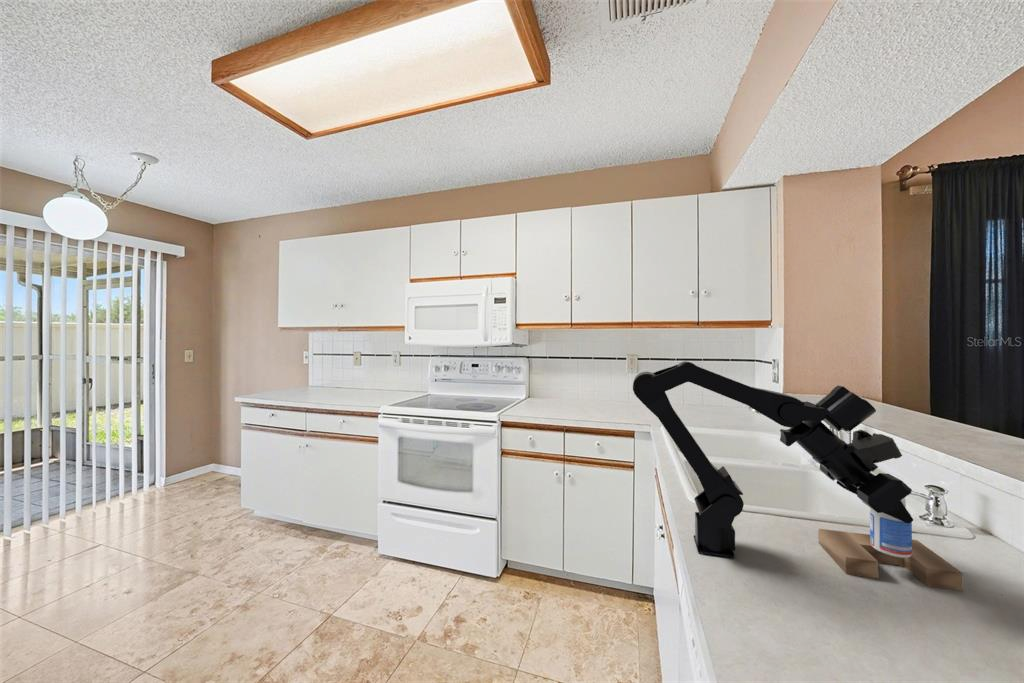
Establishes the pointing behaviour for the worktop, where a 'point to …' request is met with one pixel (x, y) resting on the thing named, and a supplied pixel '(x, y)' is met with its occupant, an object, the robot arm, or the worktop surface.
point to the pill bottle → (890, 534)
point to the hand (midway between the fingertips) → (899, 514)
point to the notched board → (887, 559)
